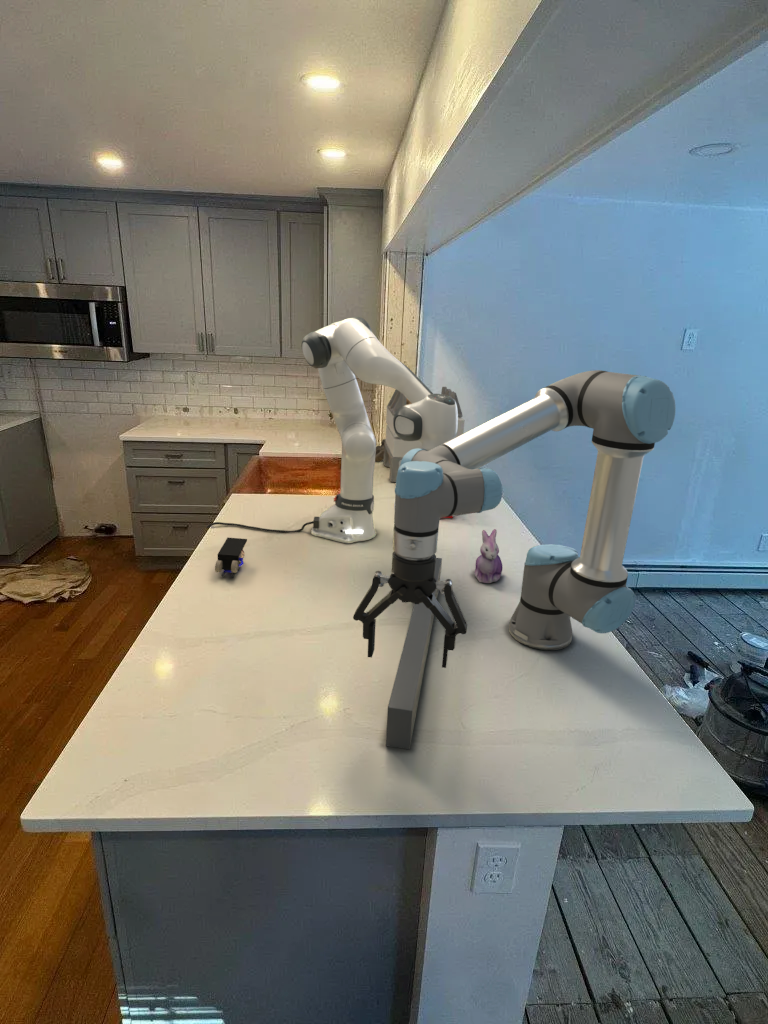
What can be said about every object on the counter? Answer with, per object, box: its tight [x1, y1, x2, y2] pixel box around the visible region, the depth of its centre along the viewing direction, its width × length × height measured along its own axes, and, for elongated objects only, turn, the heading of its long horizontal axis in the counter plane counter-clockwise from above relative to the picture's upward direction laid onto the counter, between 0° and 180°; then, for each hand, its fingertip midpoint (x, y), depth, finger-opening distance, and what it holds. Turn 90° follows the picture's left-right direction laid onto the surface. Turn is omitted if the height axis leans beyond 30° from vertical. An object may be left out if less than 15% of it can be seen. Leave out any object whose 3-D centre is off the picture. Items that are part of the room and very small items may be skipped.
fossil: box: [375, 438, 386, 463], centre depth 299 cm, size 22×10×15 cm
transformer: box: [383, 386, 465, 483], centre depth 268 cm, size 34×33×41 cm
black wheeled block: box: [214, 537, 248, 578], centre depth 166 cm, size 7×8×15 cm
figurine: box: [474, 528, 503, 584], centre depth 167 cm, size 9×10×15 cm
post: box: [385, 557, 443, 750], centre depth 132 cm, size 67×4×8 cm, turn 170°
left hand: (435, 509), depth 151 cm, fingers open, 8 cm apart
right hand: (407, 658), depth 104 cm, fingers open, 13 cm apart
